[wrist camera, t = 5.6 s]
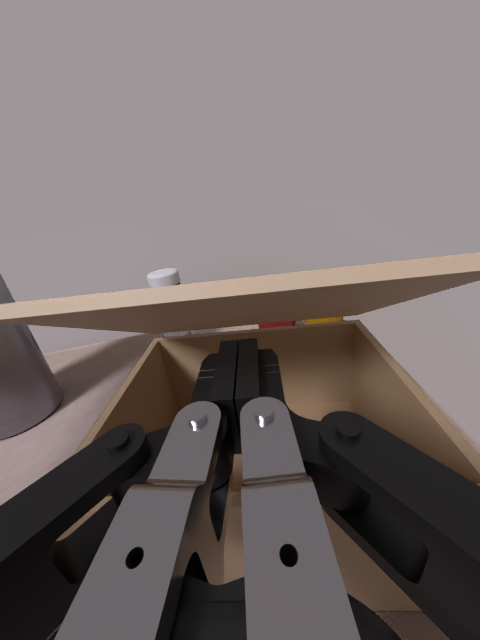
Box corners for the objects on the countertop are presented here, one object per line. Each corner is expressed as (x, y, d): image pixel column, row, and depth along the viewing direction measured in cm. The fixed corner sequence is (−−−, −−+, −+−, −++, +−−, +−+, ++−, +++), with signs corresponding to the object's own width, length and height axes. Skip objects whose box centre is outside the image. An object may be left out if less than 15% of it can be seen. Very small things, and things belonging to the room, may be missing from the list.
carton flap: (532, 265, 8) (528, 246, 8) (-19, 321, 10) (-19, 306, 10) (356, 315, 24) (356, 308, 24) (154, 333, 26) (154, 327, 26)
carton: (457, 611, 14) (518, 498, 10) (107, 609, 16) (32, 512, 12) (352, 401, 28) (359, 319, 24) (176, 412, 30) (154, 338, 26)
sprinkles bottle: (175, 342, 46) (156, 268, 41) (199, 342, 45) (182, 266, 39) (163, 356, 42) (140, 276, 37) (189, 357, 41) (169, 274, 35)
